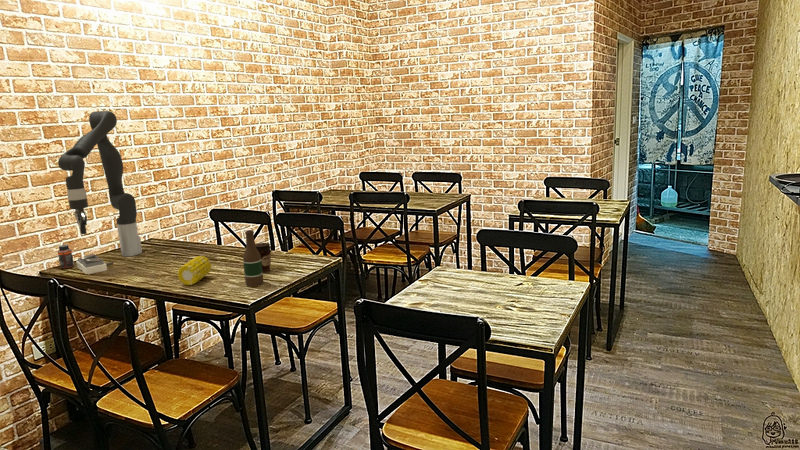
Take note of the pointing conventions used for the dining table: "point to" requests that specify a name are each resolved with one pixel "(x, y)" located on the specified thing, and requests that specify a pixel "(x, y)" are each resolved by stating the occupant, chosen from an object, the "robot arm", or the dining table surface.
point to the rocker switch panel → (92, 266)
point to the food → (194, 270)
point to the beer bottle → (252, 262)
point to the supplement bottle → (65, 257)
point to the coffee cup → (264, 255)
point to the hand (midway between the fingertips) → (83, 233)
